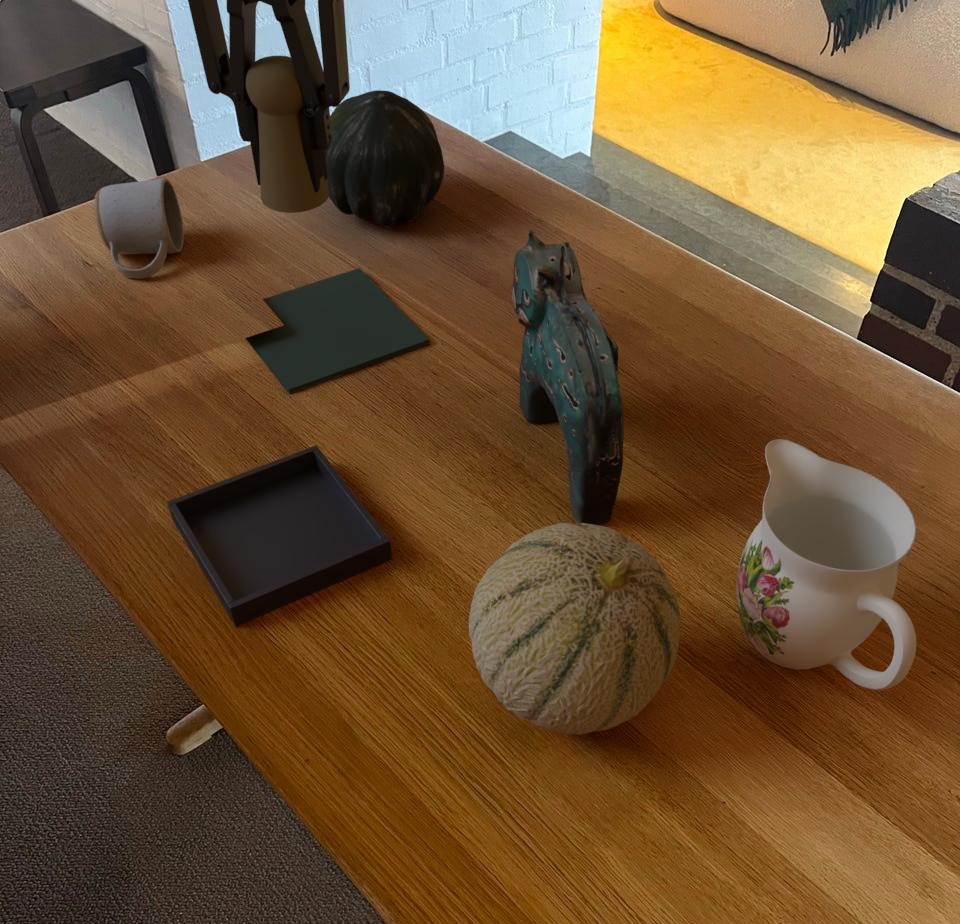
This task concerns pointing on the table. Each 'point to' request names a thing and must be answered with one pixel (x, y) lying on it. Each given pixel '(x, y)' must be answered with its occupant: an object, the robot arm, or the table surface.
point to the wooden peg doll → (281, 137)
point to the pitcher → (825, 567)
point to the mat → (333, 330)
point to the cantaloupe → (575, 628)
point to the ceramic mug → (140, 222)
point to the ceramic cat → (570, 373)
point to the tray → (278, 534)
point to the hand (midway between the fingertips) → (292, 180)
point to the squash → (382, 158)
